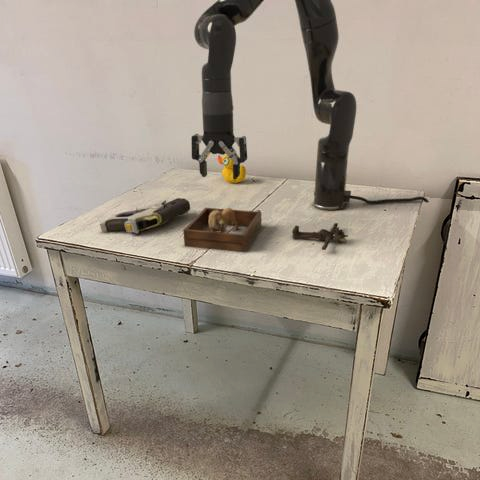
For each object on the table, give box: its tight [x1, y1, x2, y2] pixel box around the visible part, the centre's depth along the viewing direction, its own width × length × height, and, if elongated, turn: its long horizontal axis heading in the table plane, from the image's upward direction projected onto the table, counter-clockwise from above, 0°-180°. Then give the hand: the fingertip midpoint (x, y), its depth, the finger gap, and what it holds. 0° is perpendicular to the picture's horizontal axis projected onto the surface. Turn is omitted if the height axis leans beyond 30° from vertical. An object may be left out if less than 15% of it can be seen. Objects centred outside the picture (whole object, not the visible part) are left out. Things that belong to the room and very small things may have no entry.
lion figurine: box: [208, 207, 239, 233], centre depth 132 cm, size 15×5×9 cm, turn 162°
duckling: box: [217, 154, 247, 184], centre depth 174 cm, size 11×5×10 cm, turn 59°
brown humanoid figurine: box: [291, 222, 349, 251], centre depth 129 cm, size 18×4×14 cm
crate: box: [182, 207, 263, 253], centre depth 133 cm, size 17×18×4 cm
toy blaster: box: [99, 197, 191, 234], centre depth 142 cm, size 6×25×15 cm
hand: (220, 177), depth 127 cm, fingers open, 8 cm apart
